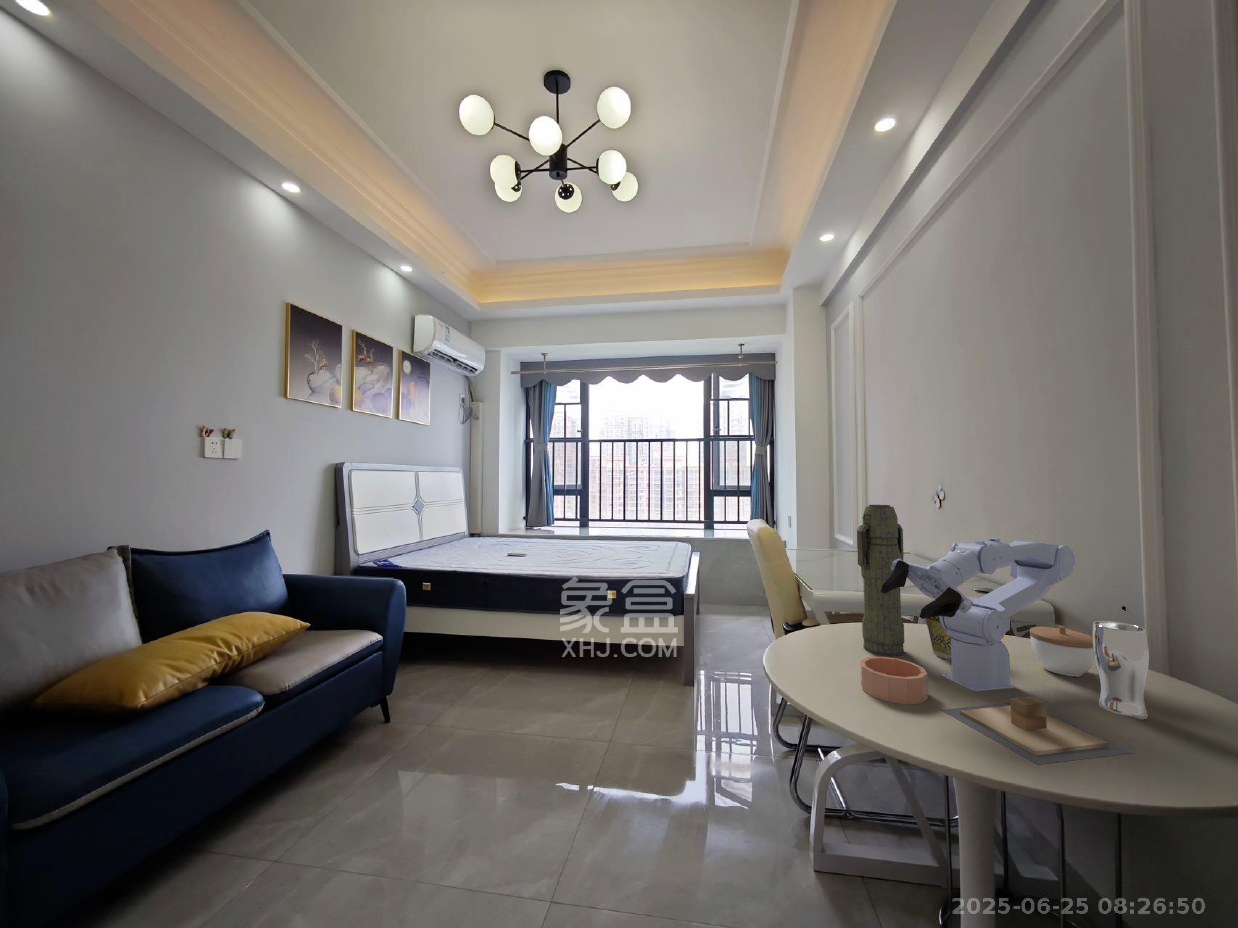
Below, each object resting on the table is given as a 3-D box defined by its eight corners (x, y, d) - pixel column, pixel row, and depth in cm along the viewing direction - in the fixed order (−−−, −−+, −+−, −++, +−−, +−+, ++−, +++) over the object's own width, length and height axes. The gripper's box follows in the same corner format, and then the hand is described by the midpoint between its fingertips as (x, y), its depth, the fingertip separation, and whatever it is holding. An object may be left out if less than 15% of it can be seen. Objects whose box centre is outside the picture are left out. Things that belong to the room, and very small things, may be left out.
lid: (1023, 707, 87) (1022, 681, 87) (1107, 746, 74) (1106, 715, 74) (959, 714, 85) (959, 687, 85) (1035, 755, 72) (1034, 723, 72)
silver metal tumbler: (1142, 725, 81) (1138, 633, 82) (1087, 708, 87) (1084, 623, 88) (1158, 715, 85) (1154, 627, 85) (1104, 699, 91) (1100, 618, 91)
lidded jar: (1112, 683, 98) (1111, 636, 98) (1052, 679, 100) (1051, 633, 100) (1072, 663, 109) (1072, 620, 109) (1018, 659, 111) (1018, 618, 111)
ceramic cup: (958, 666, 108) (957, 620, 108) (915, 651, 117) (914, 609, 117) (994, 657, 113) (993, 613, 113) (950, 644, 122) (949, 603, 122)
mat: (1022, 704, 89) (1022, 701, 89) (1134, 755, 72) (1134, 752, 72) (940, 712, 86) (940, 709, 86) (1037, 768, 69) (1037, 764, 69)
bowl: (897, 679, 100) (897, 655, 101) (941, 703, 90) (940, 675, 90) (849, 683, 99) (848, 658, 99) (887, 708, 88) (887, 680, 88)
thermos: (849, 646, 120) (846, 505, 122) (886, 641, 124) (882, 503, 126) (879, 659, 112) (875, 506, 113) (917, 652, 116) (913, 505, 117)
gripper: (915, 538, 100) (871, 562, 94) (992, 579, 88) (947, 609, 83) (907, 565, 103) (864, 590, 98) (980, 608, 92) (936, 638, 86)
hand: (902, 600), depth 91 cm, fingers open, 7 cm apart
